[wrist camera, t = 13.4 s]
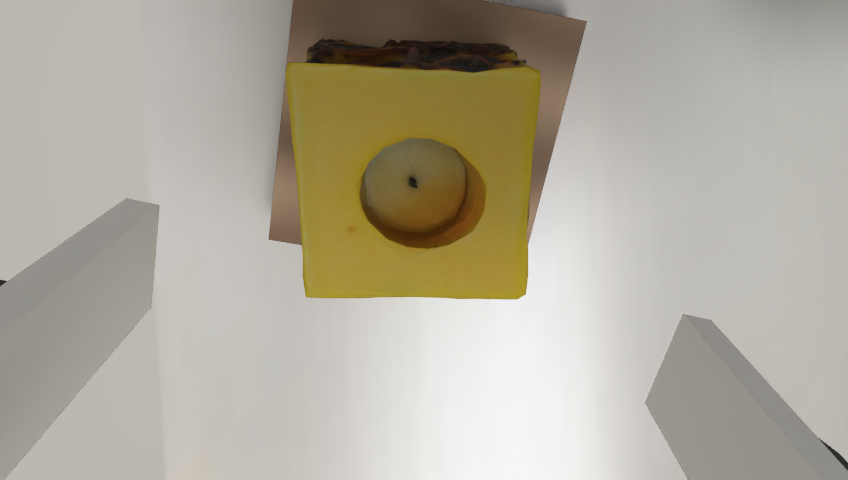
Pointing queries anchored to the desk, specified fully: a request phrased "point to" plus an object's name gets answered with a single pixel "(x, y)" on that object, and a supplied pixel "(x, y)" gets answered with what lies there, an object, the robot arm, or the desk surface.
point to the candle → (413, 168)
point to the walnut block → (427, 21)
